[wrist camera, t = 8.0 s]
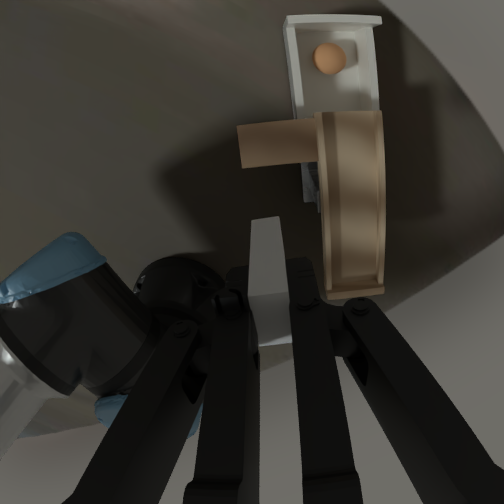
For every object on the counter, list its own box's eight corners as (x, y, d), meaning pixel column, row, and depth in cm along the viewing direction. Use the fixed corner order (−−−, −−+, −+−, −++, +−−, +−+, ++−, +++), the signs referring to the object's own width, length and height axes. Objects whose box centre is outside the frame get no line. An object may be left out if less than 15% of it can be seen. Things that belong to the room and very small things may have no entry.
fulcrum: (365, 195, 39) (384, 223, 32) (303, 200, 40) (311, 229, 33) (365, 150, 36) (386, 169, 29) (299, 154, 37) (307, 174, 30)
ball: (312, 76, 31) (316, 72, 28) (308, 46, 30) (312, 39, 26) (344, 75, 31) (352, 72, 28) (340, 46, 29) (347, 39, 26)
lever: (372, 272, 36) (384, 293, 31) (260, 283, 37) (258, 306, 33) (368, 110, 29) (383, 110, 24) (239, 120, 30) (233, 120, 26)
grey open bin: (294, 124, 35) (301, 137, 28) (282, 27, 29) (287, 15, 22) (366, 120, 34) (389, 133, 27) (358, 26, 28) (381, 16, 21)
